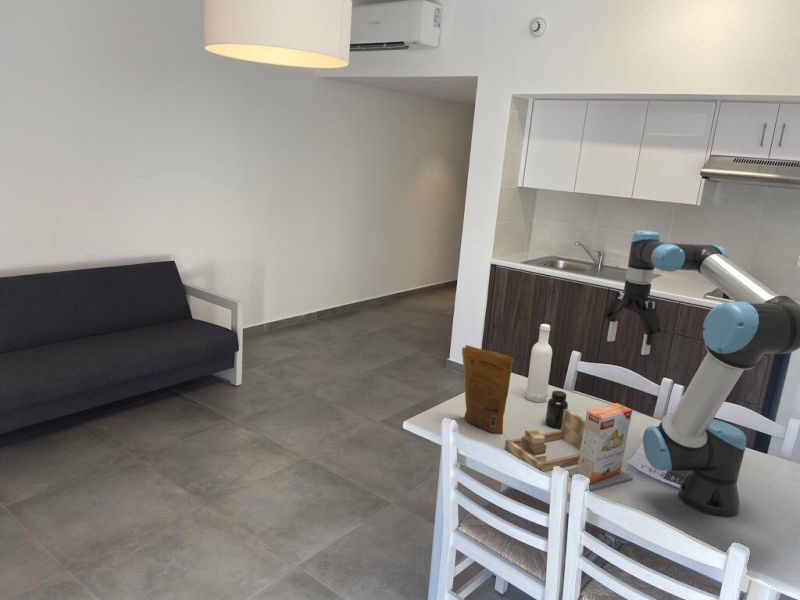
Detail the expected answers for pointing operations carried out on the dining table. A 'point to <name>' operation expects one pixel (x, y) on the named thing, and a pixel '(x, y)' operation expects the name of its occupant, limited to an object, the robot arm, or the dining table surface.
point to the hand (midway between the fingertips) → (627, 347)
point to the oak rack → (569, 432)
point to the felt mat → (604, 480)
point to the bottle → (539, 367)
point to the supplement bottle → (556, 409)
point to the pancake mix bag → (486, 387)
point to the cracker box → (604, 441)
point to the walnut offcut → (533, 447)
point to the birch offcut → (538, 457)
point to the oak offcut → (534, 437)
